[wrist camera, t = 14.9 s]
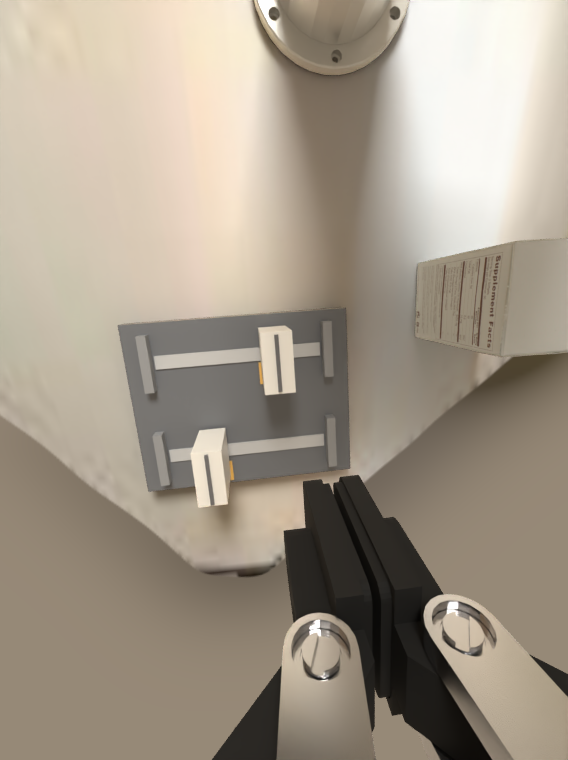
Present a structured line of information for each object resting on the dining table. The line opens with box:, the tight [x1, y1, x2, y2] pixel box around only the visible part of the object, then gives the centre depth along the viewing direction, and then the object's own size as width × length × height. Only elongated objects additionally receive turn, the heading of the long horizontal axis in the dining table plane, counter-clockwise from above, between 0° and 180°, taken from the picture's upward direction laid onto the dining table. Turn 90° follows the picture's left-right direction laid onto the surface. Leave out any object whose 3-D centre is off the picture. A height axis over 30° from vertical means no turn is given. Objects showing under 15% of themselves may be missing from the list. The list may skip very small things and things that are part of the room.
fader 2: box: [258, 325, 296, 395], centre depth 28 cm, size 5×2×5 cm, turn 4°
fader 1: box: [191, 428, 231, 508], centre depth 30 cm, size 5×2×5 cm, turn 4°
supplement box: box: [415, 238, 568, 357], centre depth 27 cm, size 7×7×13 cm
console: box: [118, 307, 350, 492], centre depth 32 cm, size 16×20×3 cm
